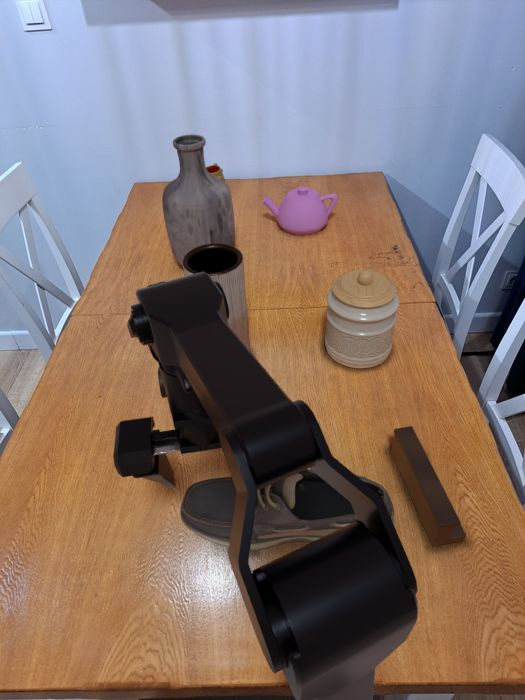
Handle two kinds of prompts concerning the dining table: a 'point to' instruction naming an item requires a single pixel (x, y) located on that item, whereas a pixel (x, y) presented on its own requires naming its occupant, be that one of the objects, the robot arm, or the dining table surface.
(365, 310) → the jar
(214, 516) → the boat shoe
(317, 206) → the teapot
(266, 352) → the dining table surface
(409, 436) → the dark walnut bar
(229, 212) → the vase
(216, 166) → the mug
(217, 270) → the planter
